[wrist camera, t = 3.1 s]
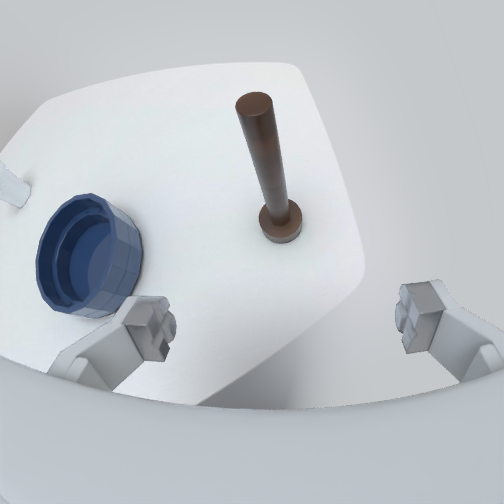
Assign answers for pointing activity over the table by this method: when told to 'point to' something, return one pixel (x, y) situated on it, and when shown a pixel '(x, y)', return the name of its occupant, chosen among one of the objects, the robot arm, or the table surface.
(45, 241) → the bowl
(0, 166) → the cup
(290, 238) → the stick
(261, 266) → the table surface
